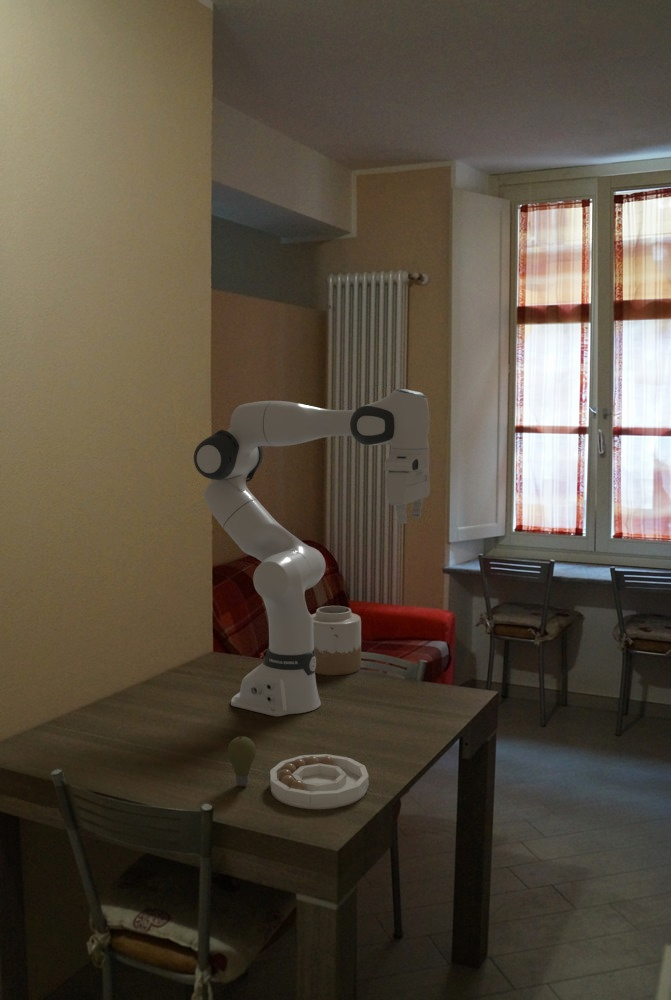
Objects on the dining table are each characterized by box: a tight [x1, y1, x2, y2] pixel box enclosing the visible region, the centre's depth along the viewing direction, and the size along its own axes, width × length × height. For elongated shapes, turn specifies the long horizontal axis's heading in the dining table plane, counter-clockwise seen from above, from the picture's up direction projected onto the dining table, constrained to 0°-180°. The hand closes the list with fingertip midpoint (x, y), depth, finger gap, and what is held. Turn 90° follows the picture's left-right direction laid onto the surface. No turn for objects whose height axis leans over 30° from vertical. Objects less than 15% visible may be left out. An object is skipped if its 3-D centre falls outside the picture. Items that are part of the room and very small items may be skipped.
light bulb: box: [227, 736, 257, 787], centre depth 186 cm, size 6×6×10 cm
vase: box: [311, 605, 362, 676], centre depth 264 cm, size 15×15×17 cm
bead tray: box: [269, 753, 370, 810], centre depth 185 cm, size 19×19×4 cm
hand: (409, 520), depth 216 cm, fingers open, 8 cm apart
